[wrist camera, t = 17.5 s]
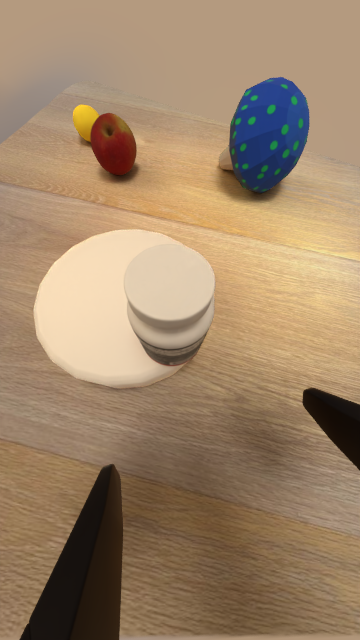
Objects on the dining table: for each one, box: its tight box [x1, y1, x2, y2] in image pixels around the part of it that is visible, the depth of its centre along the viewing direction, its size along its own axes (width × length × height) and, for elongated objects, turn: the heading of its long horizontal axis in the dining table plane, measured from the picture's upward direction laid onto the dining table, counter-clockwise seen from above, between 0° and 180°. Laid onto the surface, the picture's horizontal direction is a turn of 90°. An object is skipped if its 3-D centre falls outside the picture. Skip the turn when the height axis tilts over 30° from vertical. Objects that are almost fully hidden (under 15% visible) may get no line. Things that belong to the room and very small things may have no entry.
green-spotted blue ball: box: [219, 77, 309, 193], centre depth 32 cm, size 14×14×15 cm
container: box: [33, 229, 215, 389], centre depth 23 cm, size 20×20×5 cm
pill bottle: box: [124, 244, 215, 366], centre depth 14 cm, size 6×6×10 cm
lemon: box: [73, 105, 99, 142], centre depth 38 cm, size 7×5×5 cm
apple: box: [90, 113, 136, 175], centre depth 33 cm, size 8×8×8 cm
